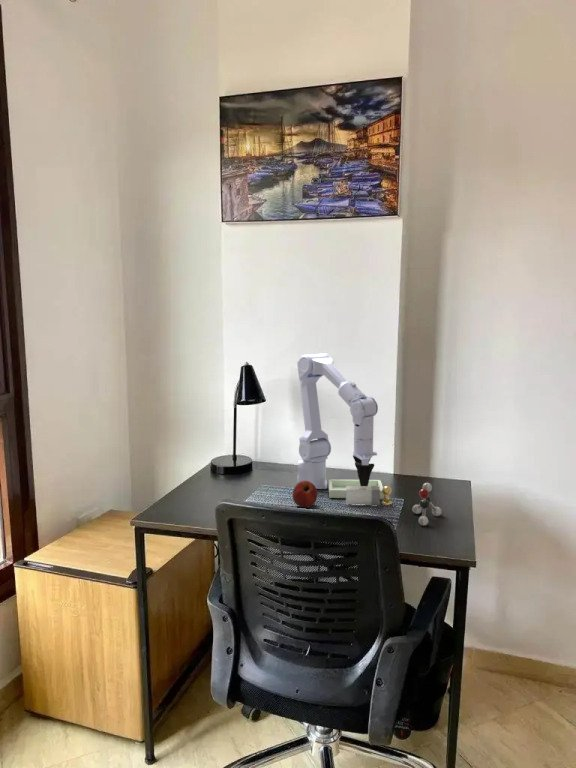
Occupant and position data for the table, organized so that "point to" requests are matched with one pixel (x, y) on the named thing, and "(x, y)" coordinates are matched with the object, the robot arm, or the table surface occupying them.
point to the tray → (339, 486)
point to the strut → (363, 495)
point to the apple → (305, 494)
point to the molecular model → (425, 504)
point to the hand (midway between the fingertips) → (363, 482)
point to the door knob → (386, 495)
